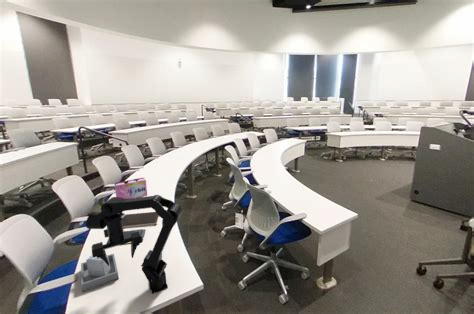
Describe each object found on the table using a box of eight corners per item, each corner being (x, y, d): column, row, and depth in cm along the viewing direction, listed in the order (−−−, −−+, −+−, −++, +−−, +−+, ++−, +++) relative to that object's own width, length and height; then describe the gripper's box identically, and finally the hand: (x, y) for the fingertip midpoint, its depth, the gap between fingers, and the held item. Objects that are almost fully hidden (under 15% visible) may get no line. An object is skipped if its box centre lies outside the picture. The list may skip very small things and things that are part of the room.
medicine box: (111, 270, 115) (108, 254, 113) (105, 277, 111) (102, 260, 109) (94, 270, 116) (91, 253, 114) (88, 276, 111) (85, 260, 109)
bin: (114, 259, 124) (113, 253, 123) (118, 278, 111) (117, 272, 110) (82, 269, 117) (81, 263, 116) (82, 291, 103) (81, 284, 103)
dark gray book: (145, 227, 152) (142, 241, 137) (146, 230, 152) (142, 244, 138) (111, 231, 148) (103, 245, 133) (111, 234, 148) (103, 248, 134)
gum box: (146, 192, 212) (144, 177, 209) (149, 194, 206) (147, 179, 202) (116, 198, 198) (114, 182, 195) (118, 202, 192) (115, 185, 189)
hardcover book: (157, 225, 158) (156, 222, 157) (118, 229, 154) (118, 225, 153) (159, 214, 173) (159, 211, 172) (125, 217, 169) (124, 214, 168)
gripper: (135, 214, 112) (140, 244, 116) (88, 226, 103) (95, 258, 107) (140, 224, 103) (145, 257, 107) (89, 238, 94) (96, 273, 97)
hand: (120, 261), depth 104 cm, fingers open, 9 cm apart
